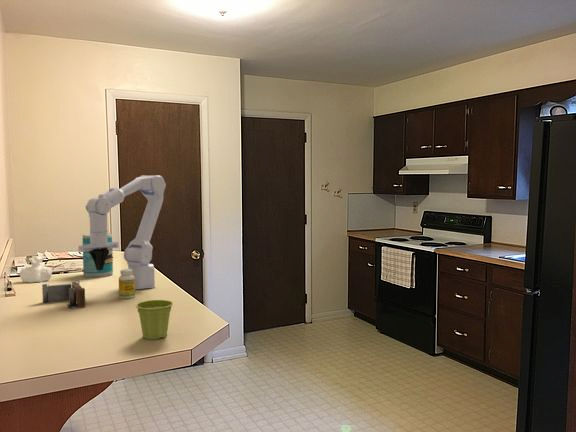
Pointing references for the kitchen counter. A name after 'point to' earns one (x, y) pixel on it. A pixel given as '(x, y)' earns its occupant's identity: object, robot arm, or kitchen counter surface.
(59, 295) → the fence
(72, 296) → the latch post
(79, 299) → the brown wooden block
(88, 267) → the food can
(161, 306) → the plant pot
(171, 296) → the kitchen counter surface
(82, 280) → the kitchen counter surface
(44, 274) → the bust
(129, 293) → the supplement bottle
